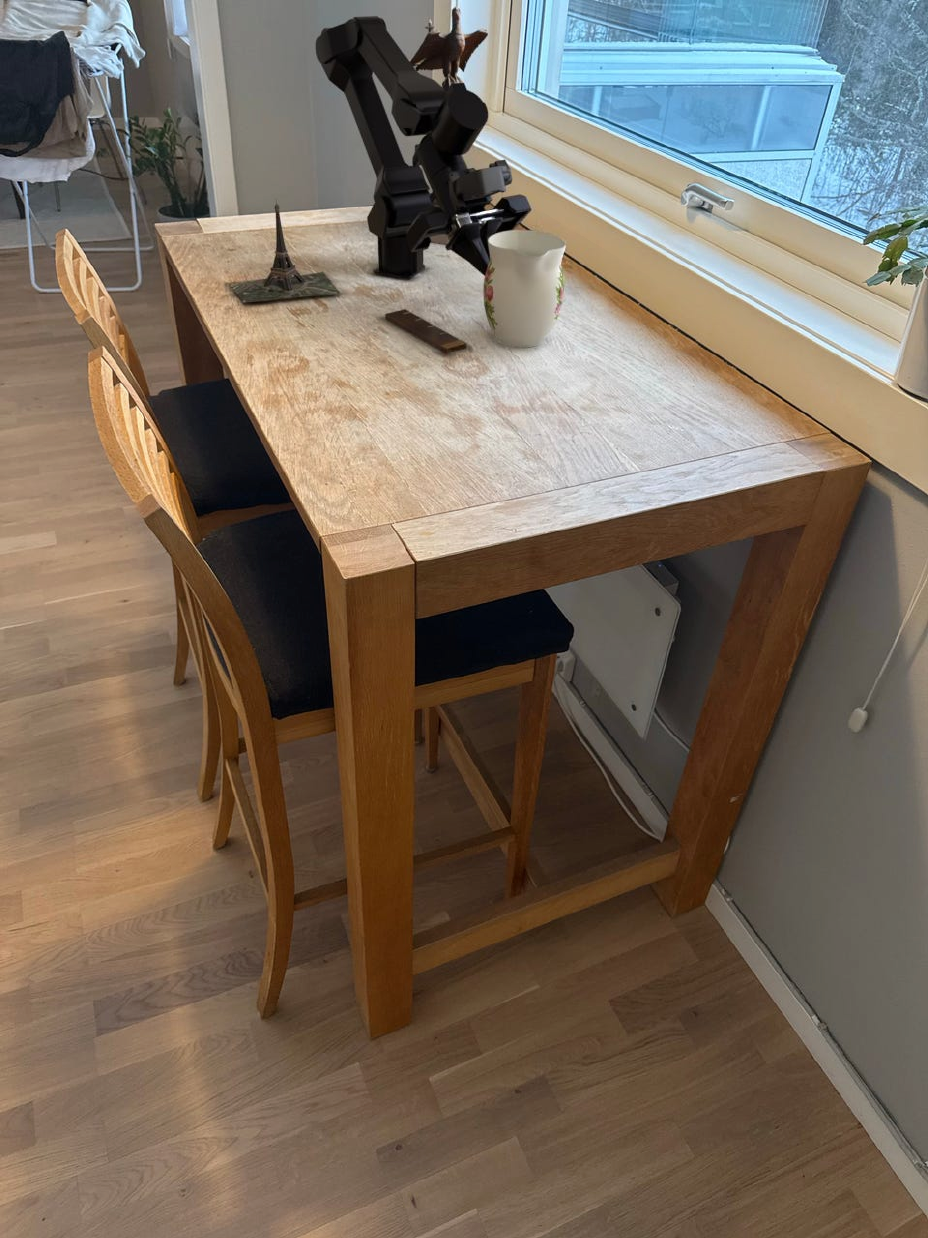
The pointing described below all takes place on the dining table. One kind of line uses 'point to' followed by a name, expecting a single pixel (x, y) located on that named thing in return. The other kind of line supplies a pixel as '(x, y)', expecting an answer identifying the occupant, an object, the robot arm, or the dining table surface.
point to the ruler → (426, 331)
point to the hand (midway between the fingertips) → (493, 277)
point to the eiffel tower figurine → (284, 278)
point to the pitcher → (523, 286)
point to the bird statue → (447, 61)
